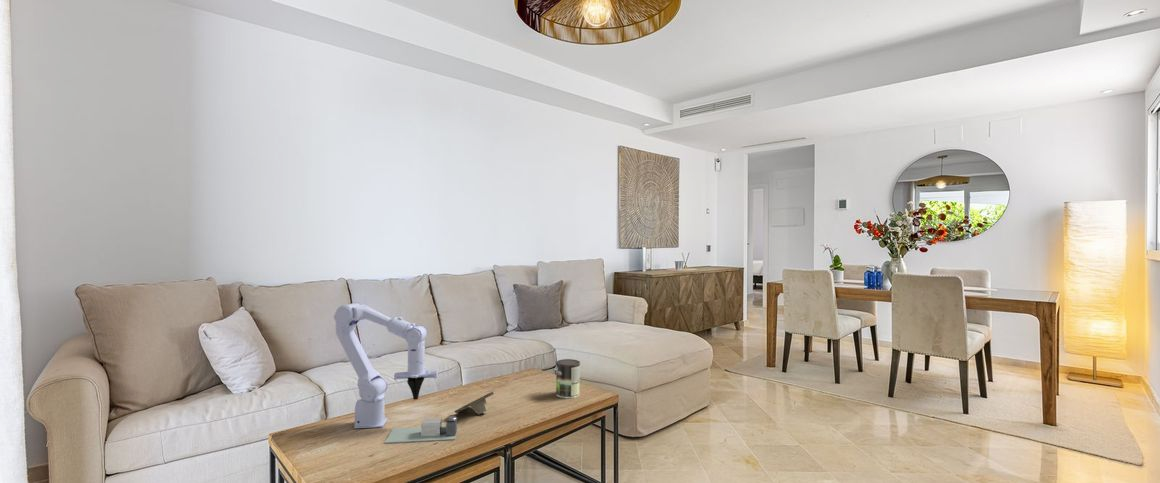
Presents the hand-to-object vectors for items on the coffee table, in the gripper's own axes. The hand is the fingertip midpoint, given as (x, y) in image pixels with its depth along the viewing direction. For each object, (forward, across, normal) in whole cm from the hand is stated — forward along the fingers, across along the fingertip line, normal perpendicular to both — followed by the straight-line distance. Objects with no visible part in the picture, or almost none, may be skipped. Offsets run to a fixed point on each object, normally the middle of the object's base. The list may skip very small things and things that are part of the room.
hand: (415, 398), depth 171 cm
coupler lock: (+9, +7, -10) cm, 15 cm away
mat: (+9, +4, -9) cm, 14 cm away
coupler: (+9, +10, -10) cm, 17 cm away
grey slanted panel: (+10, +19, +9) cm, 23 cm away
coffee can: (+10, +58, +27) cm, 65 cm away
